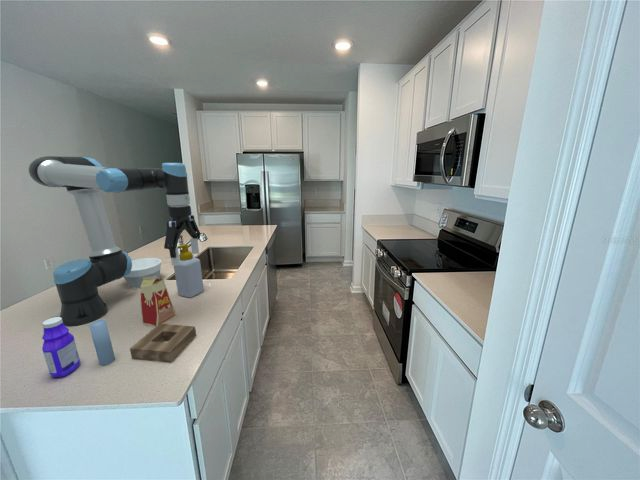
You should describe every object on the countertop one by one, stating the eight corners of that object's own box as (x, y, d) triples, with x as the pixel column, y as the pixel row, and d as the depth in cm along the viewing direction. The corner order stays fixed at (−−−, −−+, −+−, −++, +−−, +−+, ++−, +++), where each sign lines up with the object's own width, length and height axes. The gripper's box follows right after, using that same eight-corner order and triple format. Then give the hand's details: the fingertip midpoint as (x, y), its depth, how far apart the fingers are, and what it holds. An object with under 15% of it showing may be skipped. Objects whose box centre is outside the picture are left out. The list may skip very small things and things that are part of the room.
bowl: (171, 280, 147) (168, 261, 144) (133, 293, 131) (128, 273, 128) (153, 272, 157) (150, 255, 154) (115, 284, 141) (111, 265, 138)
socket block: (132, 358, 87) (129, 348, 86) (161, 333, 100) (159, 323, 99) (171, 362, 85) (169, 351, 84) (196, 335, 98) (195, 326, 97)
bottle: (66, 362, 85) (52, 314, 80) (85, 361, 85) (72, 313, 81) (46, 379, 78) (28, 328, 73) (66, 378, 78) (50, 327, 74)
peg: (96, 365, 84) (85, 326, 80) (107, 356, 88) (97, 319, 84) (107, 366, 83) (97, 327, 80) (118, 357, 87) (109, 320, 83)
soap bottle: (176, 295, 129) (169, 246, 122) (191, 287, 137) (185, 241, 130) (190, 298, 126) (183, 248, 119) (205, 290, 134) (199, 243, 127)
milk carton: (177, 316, 111) (170, 272, 106) (157, 328, 103) (148, 281, 97) (160, 312, 114) (153, 269, 109) (140, 324, 106) (131, 277, 100)
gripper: (167, 211, 87) (176, 271, 92) (205, 201, 111) (210, 249, 116) (146, 210, 87) (156, 270, 93) (188, 201, 111) (194, 249, 117)
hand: (186, 259), depth 105 cm, fingers open, 13 cm apart
